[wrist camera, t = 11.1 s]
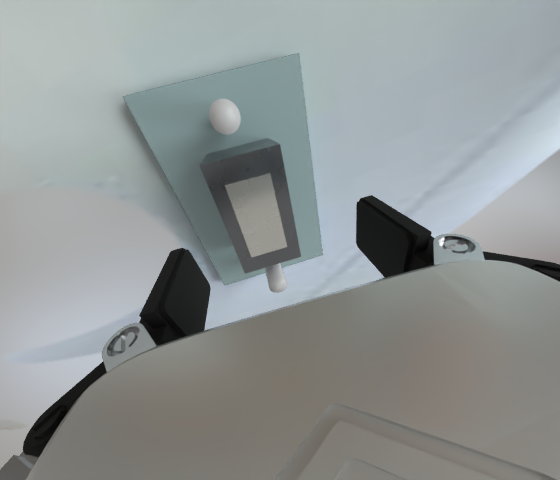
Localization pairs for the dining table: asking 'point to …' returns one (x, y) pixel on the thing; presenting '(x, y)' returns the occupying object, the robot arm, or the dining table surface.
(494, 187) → the dining table surface
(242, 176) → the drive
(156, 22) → the dining table surface
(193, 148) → the grey-green peg board
